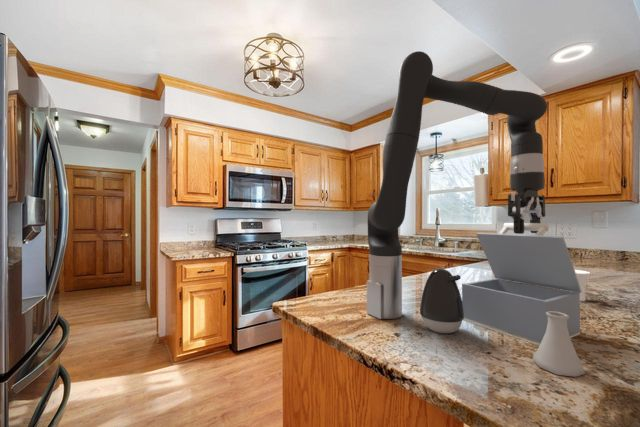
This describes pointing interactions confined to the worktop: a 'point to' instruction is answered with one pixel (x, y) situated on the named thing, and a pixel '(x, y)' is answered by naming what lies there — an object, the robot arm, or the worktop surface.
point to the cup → (582, 282)
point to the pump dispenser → (442, 302)
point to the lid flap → (530, 257)
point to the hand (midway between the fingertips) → (527, 233)
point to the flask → (558, 348)
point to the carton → (518, 308)
